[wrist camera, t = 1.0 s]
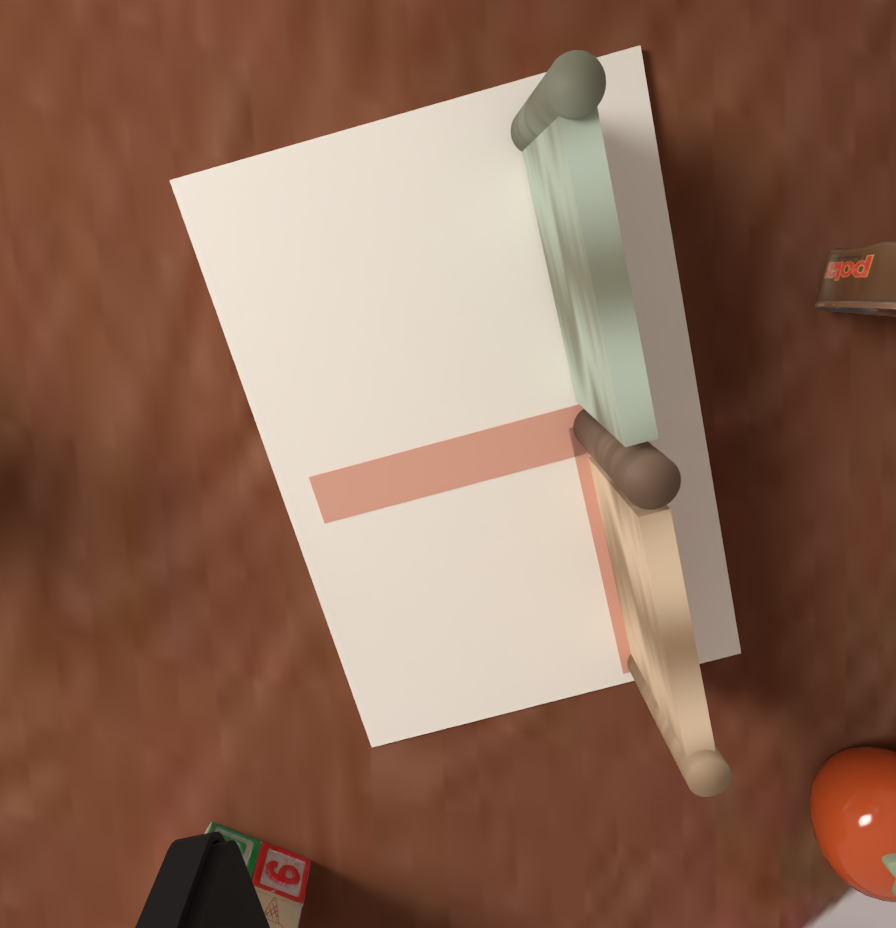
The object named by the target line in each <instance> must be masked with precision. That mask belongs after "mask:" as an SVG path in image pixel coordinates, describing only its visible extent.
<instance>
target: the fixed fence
mask: <svg viewBox="0 0 896 928" xmlns="http://www.w3.org/2000/svg"><path fill="white" fill-rule="evenodd" d="M573 431H574V435H575V437H576V438H577V440H578V441H579V442H580V443H581V444H582V446H583V447H584V448H585V449H586V450H587V451H588V452H589V454H590V455H591V457H588V460H589V464H590V469H591V473H592V478H593V482H594V487H595V492H596V496H597V501H598V505H599V510H600V515H601V519H602V524H603V528H604V533H605V538H606V542H607V547H608V551H609V556H610V560H611V565H612V570H613V574H614V579H615V583H616V588H617V593H618V597H619V602H620V606H621V611H622V615H623V620H624V625H625V629H626V634H627V638H628V643H629V648H630V652H631V654H630V655H629V657H628V661H627V666H628V669H629V671H630V673H631V675H632V677H633V679H634V680H635V682H636V684H637V686H638V688H639V690H640V692H641V694H642V696H643V698H644V700H645V702H646V704H647V706H648V708H649V710H650V712H651V714H652V716H653V718H654V720H655V722H656V724H657V726H658V728H659V730H660V732H661V733H662V735H663V737H664V739H665V741H666V743H667V745H668V747H669V749H670V751H671V753H672V755H673V757H674V759H675V761H676V763H677V765H678V767H679V769H680V771H681V773H682V775H683V777H684V779H685V781H686V783H687V785H688V786H689V788H690V790H691V791H692V792H693V793H694V794H696V795H698V796H702V797H711V796H715V795H717V794H720V793H721V792H723V791H724V790H725V789H726V788H727V787H728V785H729V784H730V782H731V778H732V774H731V770H730V768H729V766H728V765H727V763H726V761H725V760H724V758H723V756H722V755H721V753H720V751H719V750H718V748H717V747H716V745H715V743H714V740H713V735H712V729H711V724H710V718H709V713H708V708H707V702H706V697H705V692H704V686H703V681H702V676H701V670H700V665H699V659H698V654H697V649H696V643H695V638H694V633H693V627H692V622H691V617H690V611H689V606H688V600H687V595H686V590H685V584H684V579H683V574H682V568H681V563H680V558H679V552H678V547H677V541H676V536H675V531H674V525H673V520H672V515H671V509H670V508H669V507H668V506H667V504H669V503H670V502H671V501H672V500H673V499H674V498H675V497H676V495H677V493H678V491H679V489H680V485H681V475H680V471H679V469H678V467H677V466H676V465H675V463H674V462H673V461H671V460H670V459H669V458H668V457H666V456H665V455H664V454H663V453H662V452H660V451H659V450H658V449H657V448H655V447H654V446H653V445H652V444H650V443H649V442H648V441H647V442H643V443H639V444H636V445H632V446H628V447H625V446H624V445H623V444H621V443H620V442H619V441H618V440H617V439H616V438H615V437H614V436H613V435H612V434H611V433H610V432H609V431H607V430H606V429H605V428H604V427H603V426H602V425H601V424H600V423H599V422H598V421H597V420H596V419H595V418H593V417H592V416H591V415H590V414H589V413H588V412H587V411H586V410H585V409H583V410H581V411H580V412H579V413H578V415H577V416H576V418H575V420H574V424H573Z"/></svg>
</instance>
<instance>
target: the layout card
mask: <svg viewBox="0 0 896 928" xmlns="http://www.w3.org/2000/svg"><path fill="white" fill-rule="evenodd" d="M597 59H598V60H599V62H600V63H601V65H602V66H603V69H604V71H605V75H606V89H605V93H604V96H603V98H602V100H601V102H600V103H599V105H598V106H597V108H598V113H599V119H600V124H601V130H602V135H603V140H604V146H605V151H606V156H607V162H608V167H609V173H610V178H611V183H612V189H613V194H614V200H615V205H616V210H617V216H618V221H619V226H620V232H621V237H622V243H623V248H624V253H625V259H626V264H627V270H628V275H629V280H630V286H631V291H632V296H633V302H634V307H635V313H636V318H637V323H638V329H639V334H640V339H641V345H642V350H643V356H644V361H645V366H646V372H647V377H648V383H649V388H650V393H651V399H652V404H653V409H654V415H655V420H656V426H657V431H658V436H659V438H658V439H654V440H651V441H648V442H649V443H650V444H652V445H653V446H654V447H655V448H657V449H658V450H659V451H660V452H662V453H663V454H664V455H665V456H666V457H668V458H669V459H670V460H671V461H673V462H674V463H675V465H676V466H677V467H678V469H679V471H680V475H681V485H680V489H679V491H678V493H677V495H676V497H675V498H674V499H673V500H672V501H671V502H670V503H669V504H667V506H668V507H669V508H670V509H671V515H672V520H673V525H674V531H675V536H676V541H677V547H678V552H679V558H680V563H681V568H682V574H683V579H684V584H685V590H686V595H687V600H688V606H689V611H690V617H691V622H692V627H693V633H694V638H695V643H696V649H697V654H698V659H699V664H701V663H705V662H709V661H713V660H717V659H721V658H725V657H729V656H732V655H736V654H740V653H741V649H740V643H739V637H738V631H737V625H736V619H735V613H734V607H733V601H732V595H731V589H730V583H729V577H728V571H727V564H726V558H725V552H724V546H723V540H722V534H721V528H720V522H719V516H718V510H717V504H716V498H715V492H714V486H713V480H712V474H711V468H710V462H709V456H708V450H707V444H706V438H705V432H704V426H703V420H702V414H701V408H700V401H699V395H698V389H697V383H696V377H695V371H694V365H693V359H692V353H691V347H690V341H689V335H688V329H687V323H686V317H685V311H684V305H683V299H682V293H681V287H680V281H679V275H678V269H677V263H676V257H675V251H674V245H673V238H672V232H671V226H670V220H669V214H668V208H667V202H666V196H665V190H664V184H663V178H662V172H661V166H660V160H659V154H658V148H657V142H656V136H655V130H654V124H653V118H652V112H651V106H650V100H649V94H648V88H647V82H646V75H645V69H644V63H643V57H642V51H641V45H640V46H636V47H633V48H629V49H626V50H622V51H619V52H615V53H612V54H608V55H605V56H601V57H598V58H597ZM546 73H547V72H545V73H542V74H538V75H535V76H532V77H528V78H525V79H521V80H518V81H514V82H511V83H507V84H504V85H500V86H497V87H493V88H490V89H486V90H483V91H479V92H476V93H472V94H469V95H465V96H462V97H458V98H455V99H451V100H448V101H444V102H441V103H437V104H434V105H430V106H427V107H423V108H420V109H416V110H413V111H410V112H406V113H403V114H399V115H396V116H392V117H389V118H385V119H382V120H378V121H375V122H371V123H368V124H364V125H361V126H357V127H354V128H350V129H347V130H343V131H340V132H336V133H333V134H329V135H326V136H322V137H319V138H315V139H312V140H308V141H305V142H301V143H298V144H295V145H291V146H288V147H284V148H281V149H277V150H274V151H270V152H267V153H263V154H260V155H256V156H253V157H249V158H246V159H242V160H239V161H235V162H232V163H228V164H225V165H221V166H218V167H214V168H211V169H207V170H204V171H200V172H197V173H193V174H190V175H186V176H183V177H179V178H176V179H173V180H170V183H171V186H172V189H173V192H174V194H175V197H176V200H177V203H178V206H179V208H180V211H181V214H182V217H183V220H184V222H185V225H186V228H187V231H188V234H189V236H190V239H191V242H192V245H193V248H194V250H195V253H196V256H197V259H198V262H199V264H200V267H201V270H202V273H203V276H204V278H205V281H206V284H207V287H208V290H209V292H210V295H211V298H212V301H213V304H214V306H215V309H216V312H217V315H218V318H219V320H220V323H221V326H222V329H223V332H224V335H225V337H226V340H227V343H228V346H229V349H230V351H231V354H232V357H233V360H234V363H235V365H236V368H237V371H238V374H239V377H240V379H241V382H242V385H243V388H244V391H245V393H246V396H247V399H248V402H249V405H250V407H251V410H252V413H253V416H254V419H255V421H256V424H257V427H258V430H259V433H260V435H261V438H262V441H263V444H264V447H265V449H266V452H267V455H268V458H269V461H270V463H271V466H272V469H273V472H274V475H275V478H276V480H277V483H278V486H279V489H280V492H281V494H282V497H283V500H284V503H285V506H286V508H287V511H288V514H289V517H290V520H291V522H292V525H293V528H294V531H295V534H296V536H297V539H298V542H299V545H300V548H301V550H302V553H303V556H304V559H305V562H306V564H307V567H308V570H309V573H310V576H311V578H312V581H313V584H314V587H315V590H316V592H317V595H318V598H319V601H320V604H321V606H322V609H323V612H324V615H325V618H326V621H327V623H328V626H329V629H330V632H331V635H332V637H333V640H334V643H335V646H336V649H337V651H338V654H339V657H340V660H341V663H342V665H343V668H344V671H345V674H346V677H347V679H348V682H349V685H350V688H351V691H352V693H353V696H354V699H355V702H356V705H357V707H358V710H359V713H360V716H361V719H362V721H363V724H364V727H365V730H366V733H367V735H368V738H369V741H370V744H371V747H376V746H379V745H383V744H387V743H391V742H395V741H399V740H403V739H407V738H411V737H415V736H419V735H423V734H427V733H430V732H434V731H438V730H442V729H446V728H450V727H454V726H458V725H462V724H466V723H470V722H474V721H478V720H481V719H485V718H489V717H493V716H497V715H501V714H505V713H509V712H513V711H517V710H521V709H525V708H528V707H532V706H536V705H540V704H544V703H548V702H552V701H556V700H560V699H564V698H568V697H572V696H576V695H579V694H583V693H587V692H591V691H595V690H599V689H603V688H607V687H611V686H615V685H619V684H623V683H627V682H630V681H634V679H633V677H632V675H631V673H630V671H629V669H628V666H627V661H628V657H629V655H630V654H631V652H630V648H629V643H628V638H627V634H626V629H625V625H624V620H623V615H622V611H621V606H620V602H619V597H618V593H617V588H616V583H615V579H614V574H613V570H612V565H611V560H610V556H609V551H608V547H607V542H606V538H605V533H604V528H603V524H602V519H601V515H600V510H599V505H598V501H597V496H596V492H595V487H594V482H593V478H592V473H591V469H590V464H589V460H588V457H591V455H590V454H589V452H588V451H587V450H586V449H585V448H584V447H583V446H582V444H581V443H580V442H579V441H578V440H577V438H576V437H575V435H574V431H573V424H574V420H575V418H576V416H577V415H578V413H579V412H580V411H581V410H583V409H584V408H583V407H582V406H581V405H579V404H578V403H577V402H576V398H575V393H574V388H573V384H572V379H571V375H570V370H569V365H568V361H567V356H566V352H565V347H564V342H563V338H562V333H561V329H560V324H559V319H558V315H557V310H556V306H555V301H554V296H553V292H552V287H551V283H550V278H549V274H548V269H547V264H546V260H545V255H544V251H543V246H542V241H541V237H540V232H539V228H538V223H537V218H536V214H535V209H534V205H533V200H532V195H531V191H530V186H529V182H528V177H527V173H526V168H525V163H524V159H523V154H522V152H521V151H520V150H519V149H518V148H517V147H516V146H515V145H514V143H513V141H512V138H511V125H512V122H513V119H514V118H515V116H516V115H517V113H518V112H519V110H520V109H521V108H522V106H523V105H524V103H525V102H526V101H527V99H528V98H529V96H530V95H531V94H532V92H533V91H534V89H535V88H536V87H537V85H538V84H539V82H540V81H541V80H542V78H543V77H544V75H545V74H546Z"/></svg>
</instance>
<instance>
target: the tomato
mask: <svg viewBox="0 0 896 928" xmlns="http://www.w3.org/2000/svg"><path fill="white" fill-rule="evenodd" d="M809 807H810V815H811V822H812V826H813V831H814V836H815V839H816V841H817V843H818V845H819V847H820V849H821V852H822V853H823V855H824V857H825V858H826V860H827V862H828V863H829V865H830V867H831V868H832V869H833V870H834V871H835V873H836V874H837V875H838V876H839V877H840V878H841V879H842V880H843V881H845V882H846V883H847V884H849V885H850V886H851V887H853V888H854V889H856V890H857V891H859V892H861V893H863V894H865V895H866V896H869V897H873V898H876V899H879V900H882V901H889V902H896V752H895V751H892V750H887V749H883V748H879V747H865V746H861V747H856V748H852V747H851V748H848V749H845V750H841V751H839V752H837V753H836V754H834V755H832V756H831V757H830V758H829V759H827V760H826V761H825V762H824V763H823V764H822V765H821V767H820V769H819V771H818V772H817V774H816V776H815V777H814V779H813V782H812V786H811V790H810V803H809Z"/></svg>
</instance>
